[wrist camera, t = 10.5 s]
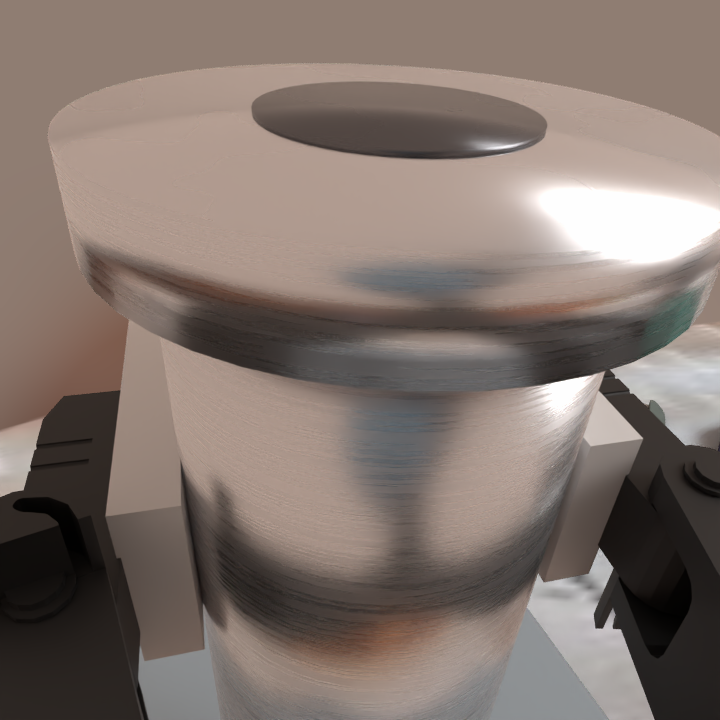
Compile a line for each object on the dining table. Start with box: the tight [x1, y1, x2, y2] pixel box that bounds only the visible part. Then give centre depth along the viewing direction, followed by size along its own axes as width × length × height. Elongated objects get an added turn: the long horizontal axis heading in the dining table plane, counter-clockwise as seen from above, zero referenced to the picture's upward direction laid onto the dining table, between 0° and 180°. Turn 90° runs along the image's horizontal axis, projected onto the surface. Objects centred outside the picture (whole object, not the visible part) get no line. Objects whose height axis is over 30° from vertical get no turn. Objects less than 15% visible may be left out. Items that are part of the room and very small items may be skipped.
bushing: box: [47, 63, 720, 720], centre depth 9 cm, size 6×6×12 cm
